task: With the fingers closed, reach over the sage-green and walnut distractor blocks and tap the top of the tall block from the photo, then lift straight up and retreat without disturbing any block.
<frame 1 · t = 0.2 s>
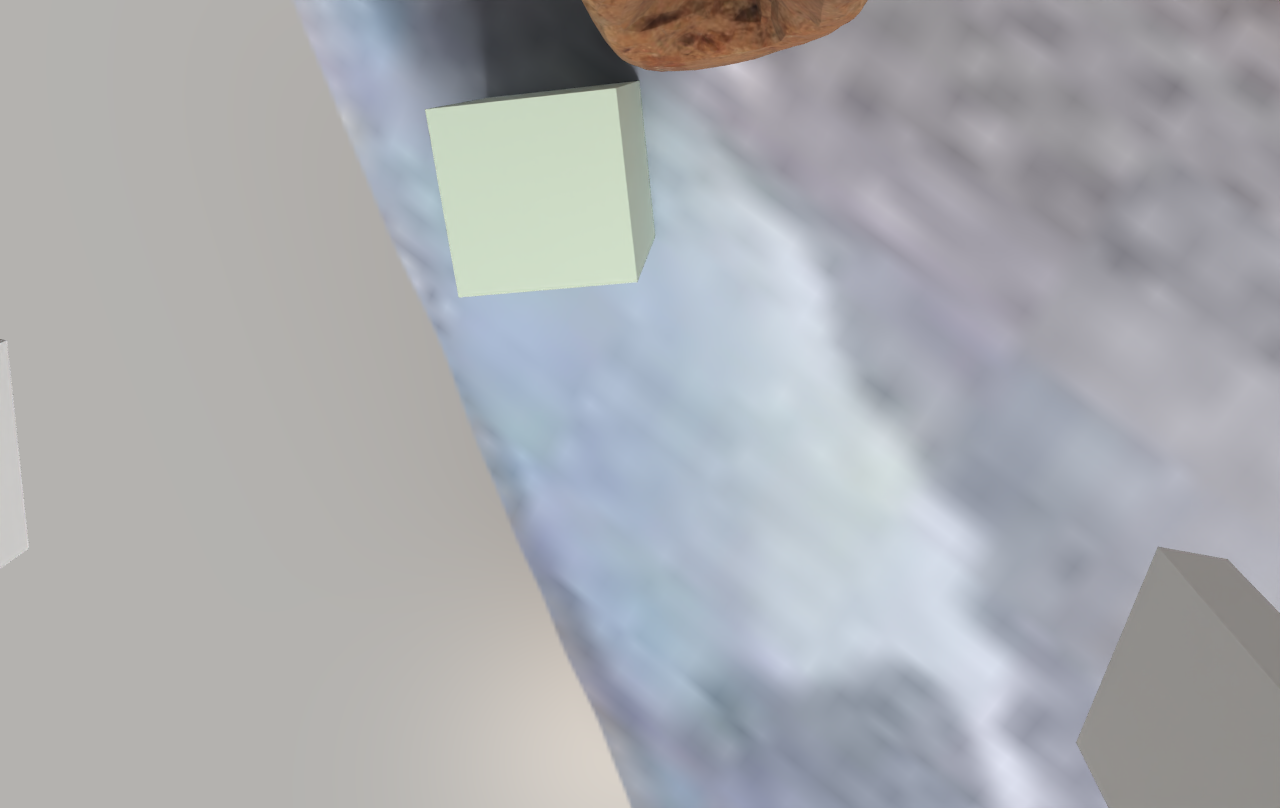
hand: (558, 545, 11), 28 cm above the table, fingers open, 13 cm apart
green block: (572, 168, 37), on the table
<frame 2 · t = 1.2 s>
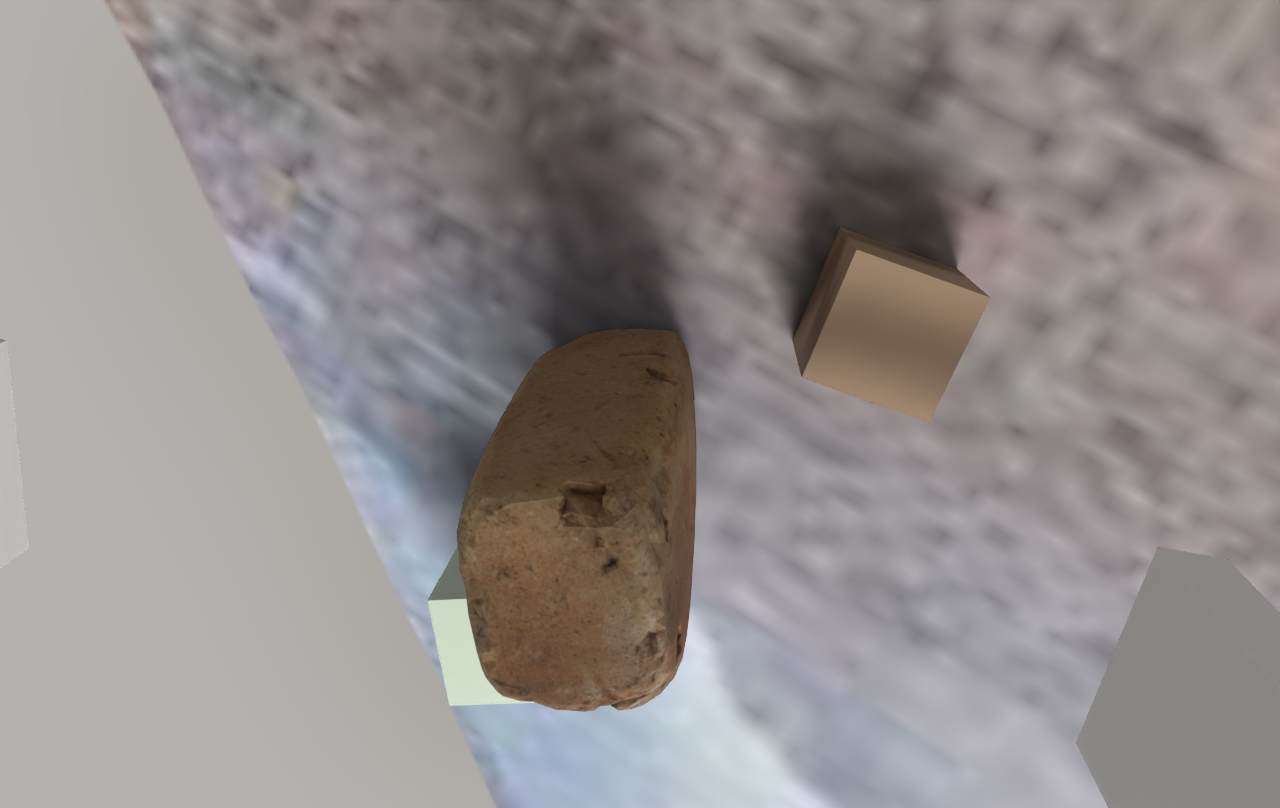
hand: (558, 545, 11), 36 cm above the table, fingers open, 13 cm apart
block: (628, 415, 49), on the table
walnut block: (872, 305, 45), on the table
green block: (531, 567, 52), on the table
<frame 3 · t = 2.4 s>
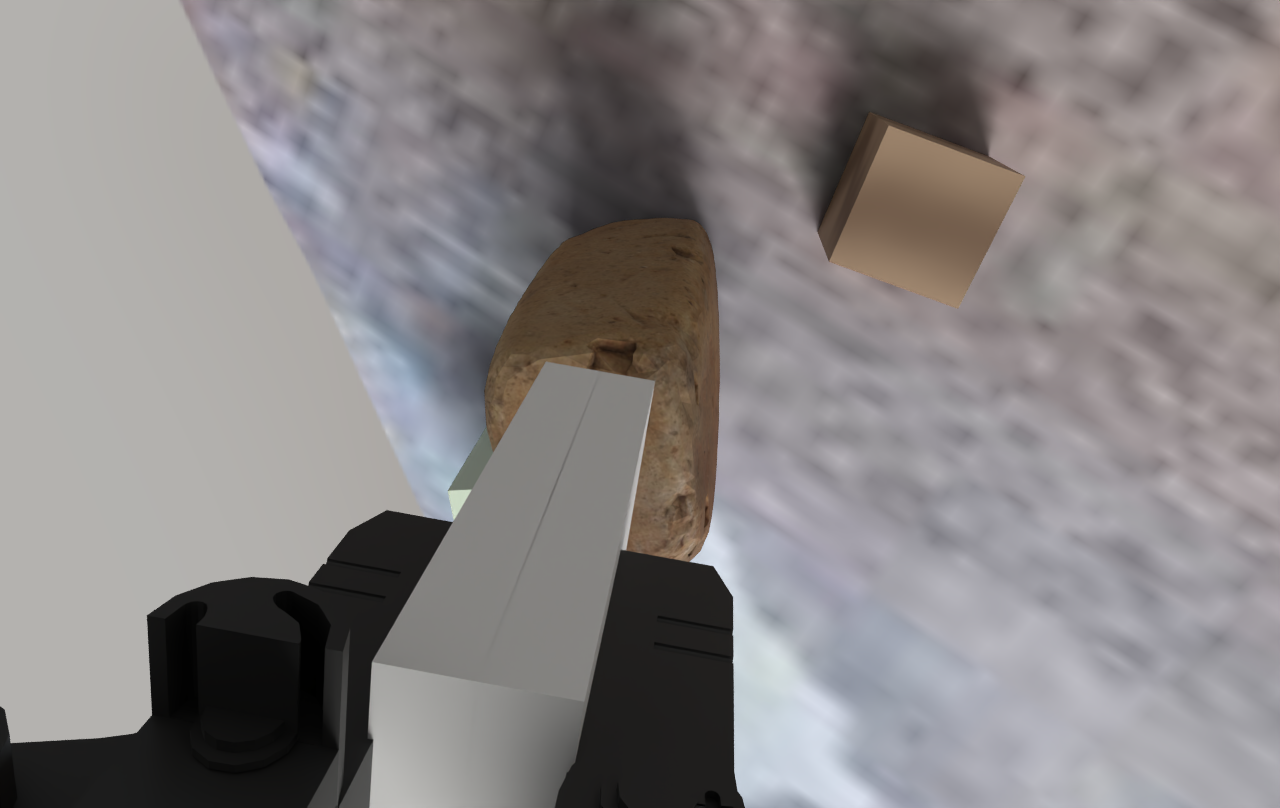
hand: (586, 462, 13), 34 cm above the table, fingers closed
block: (648, 311, 48), on the table
walnut block: (900, 194, 44), on the table
green block: (549, 468, 52), on the table
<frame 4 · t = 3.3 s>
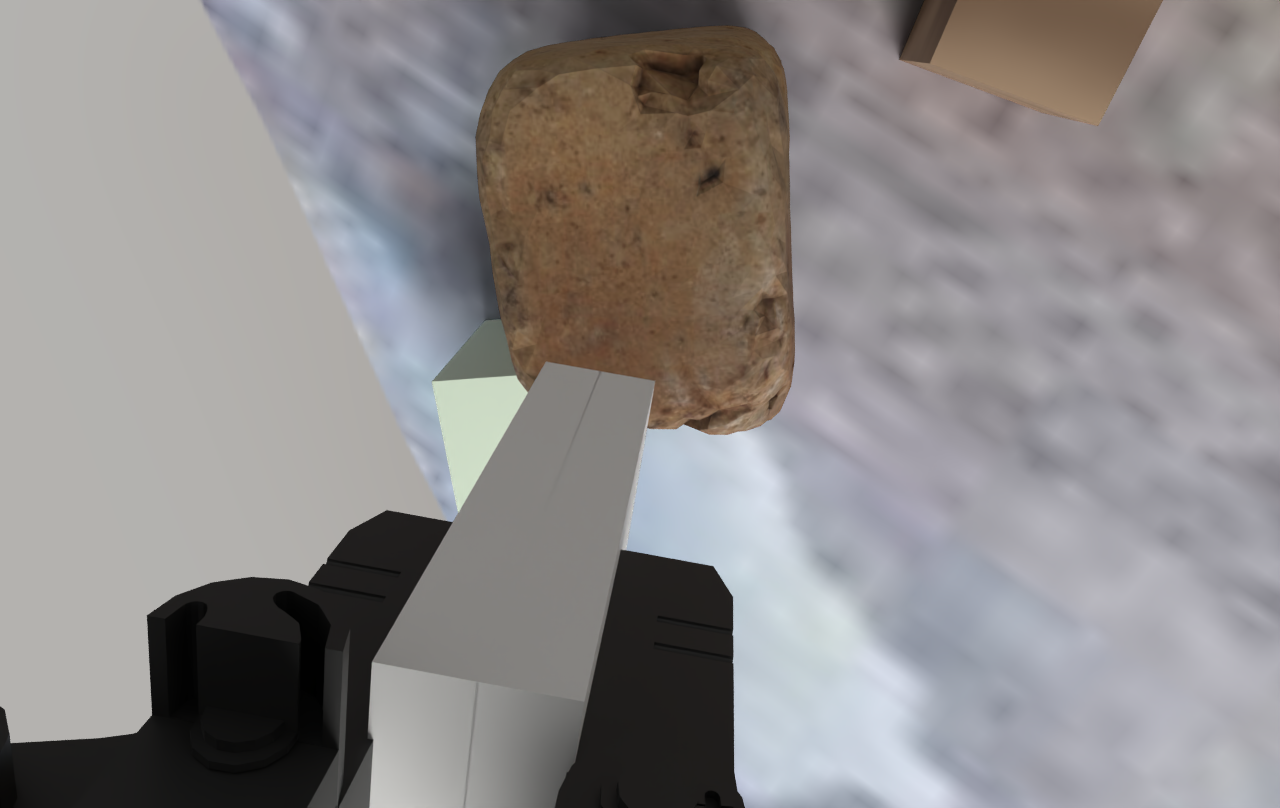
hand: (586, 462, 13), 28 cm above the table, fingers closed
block: (684, 170, 38), on the table
walnut block: (1006, 7, 35), on the table
green block: (560, 378, 42), on the table
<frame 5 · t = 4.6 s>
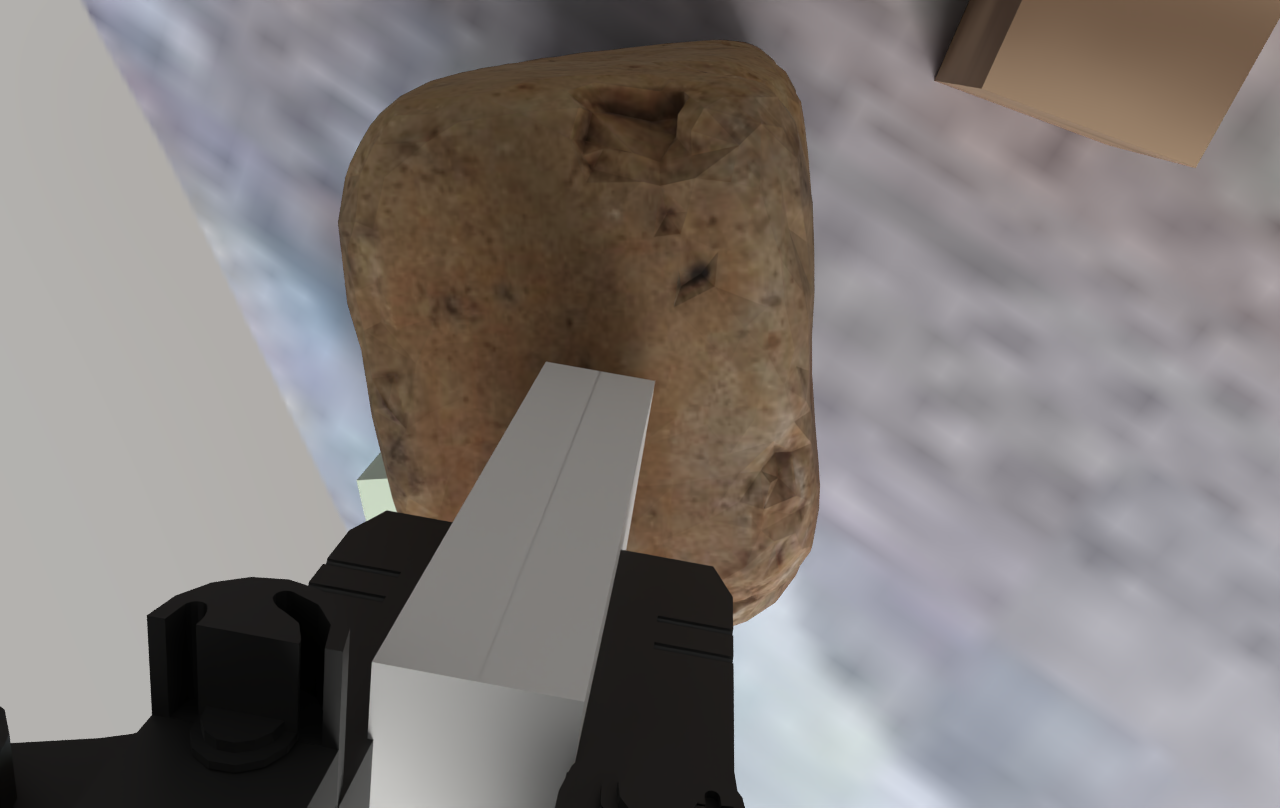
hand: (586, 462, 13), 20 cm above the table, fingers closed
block: (672, 213, 32), on the table, touching gripper
walnut block: (1067, 16, 29), on the table
green block: (525, 455, 36), on the table
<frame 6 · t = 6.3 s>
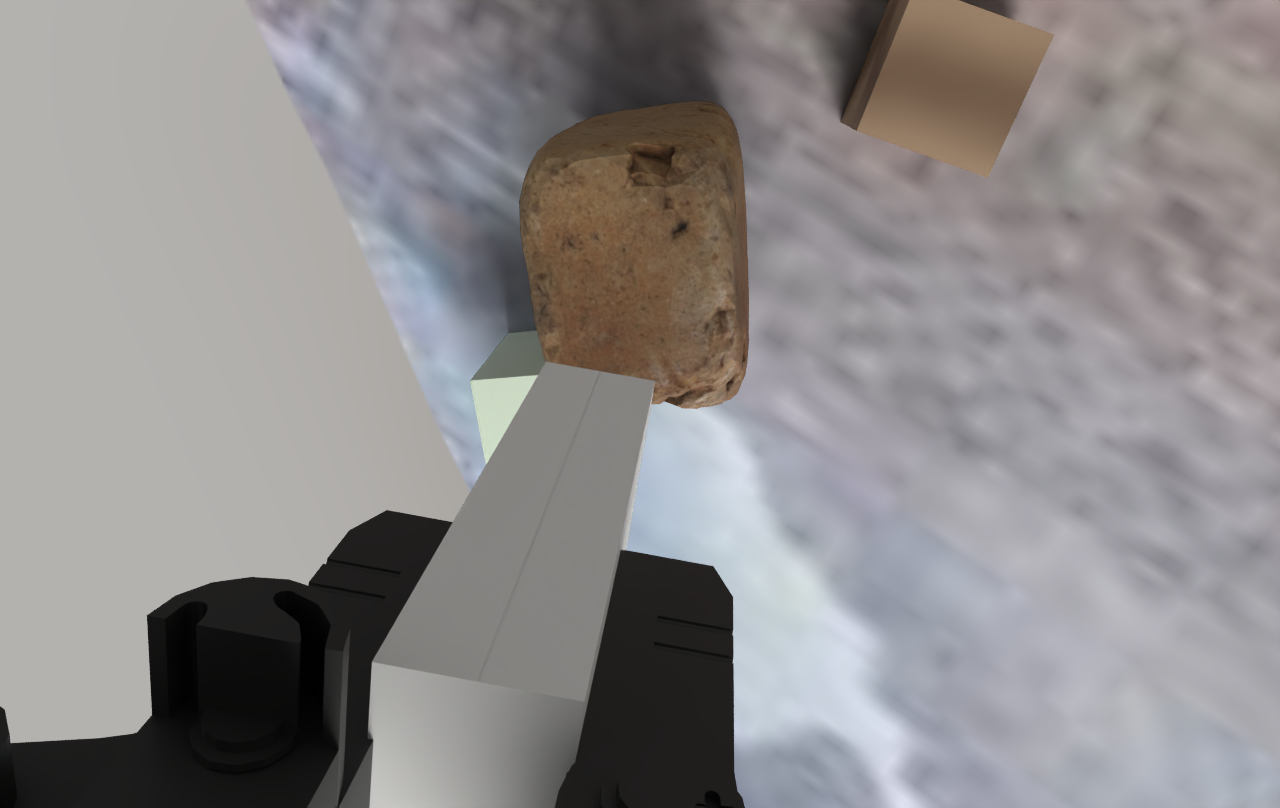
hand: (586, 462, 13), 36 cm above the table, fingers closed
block: (670, 210, 48), on the table
walnut block: (924, 80, 44), on the table
green block: (570, 380, 51), on the table
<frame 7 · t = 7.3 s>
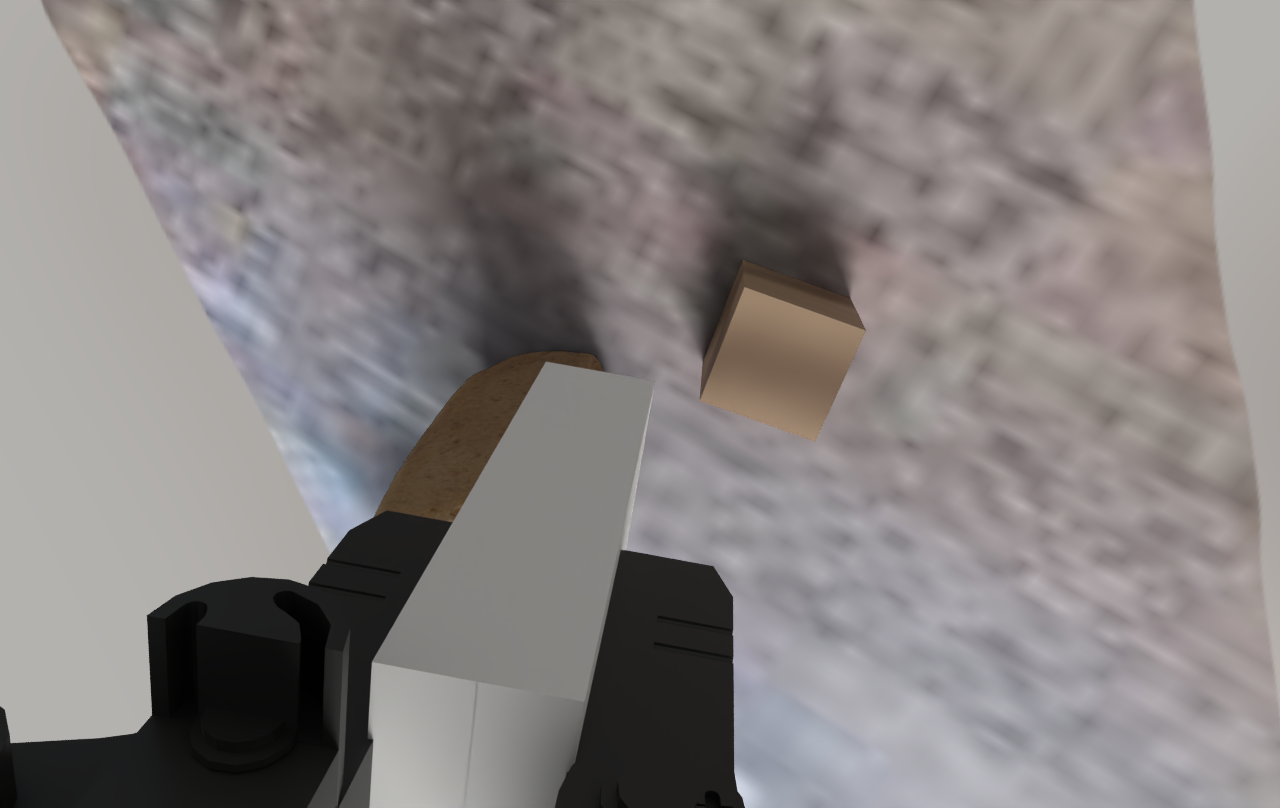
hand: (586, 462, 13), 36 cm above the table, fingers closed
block: (555, 429, 53), on the table
walnut block: (775, 330, 50), on the table
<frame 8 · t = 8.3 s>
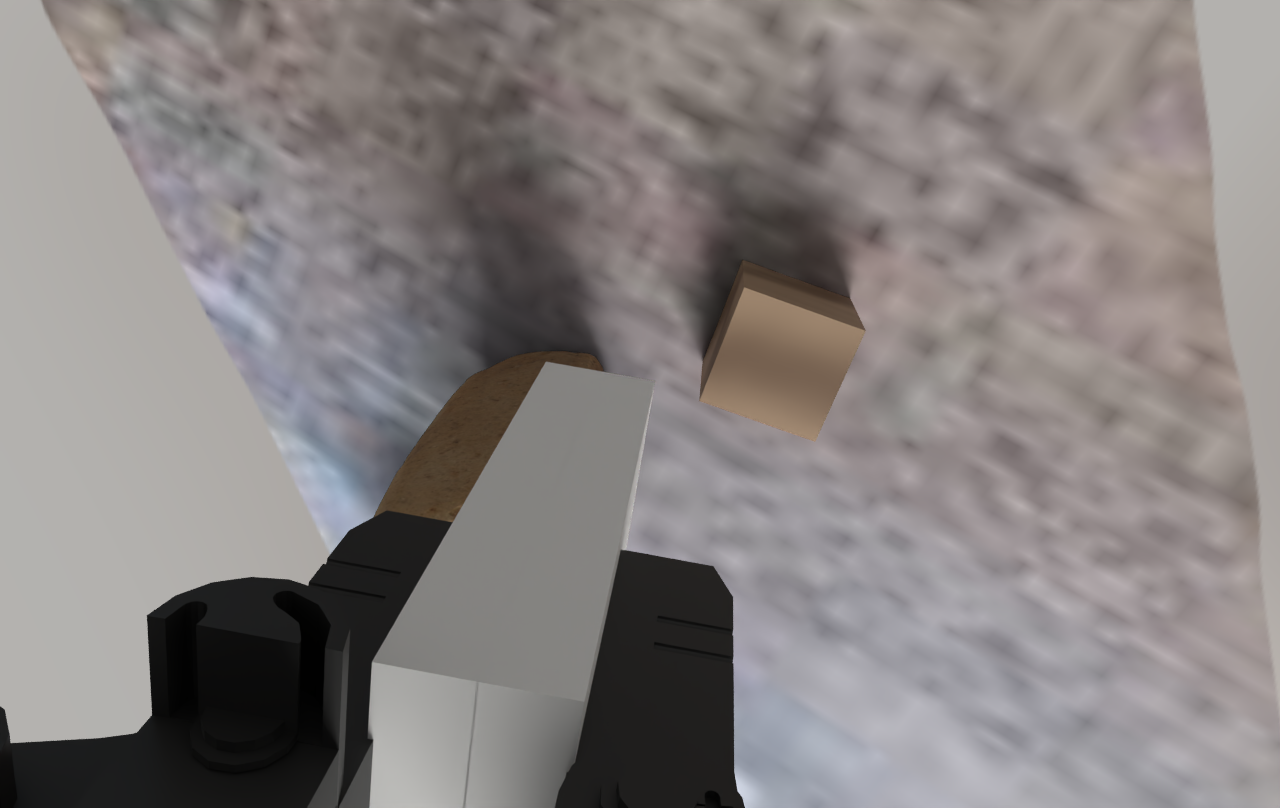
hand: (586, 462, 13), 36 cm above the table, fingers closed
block: (555, 429, 53), on the table
walnut block: (774, 330, 50), on the table
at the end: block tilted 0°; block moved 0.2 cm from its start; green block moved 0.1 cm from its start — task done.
